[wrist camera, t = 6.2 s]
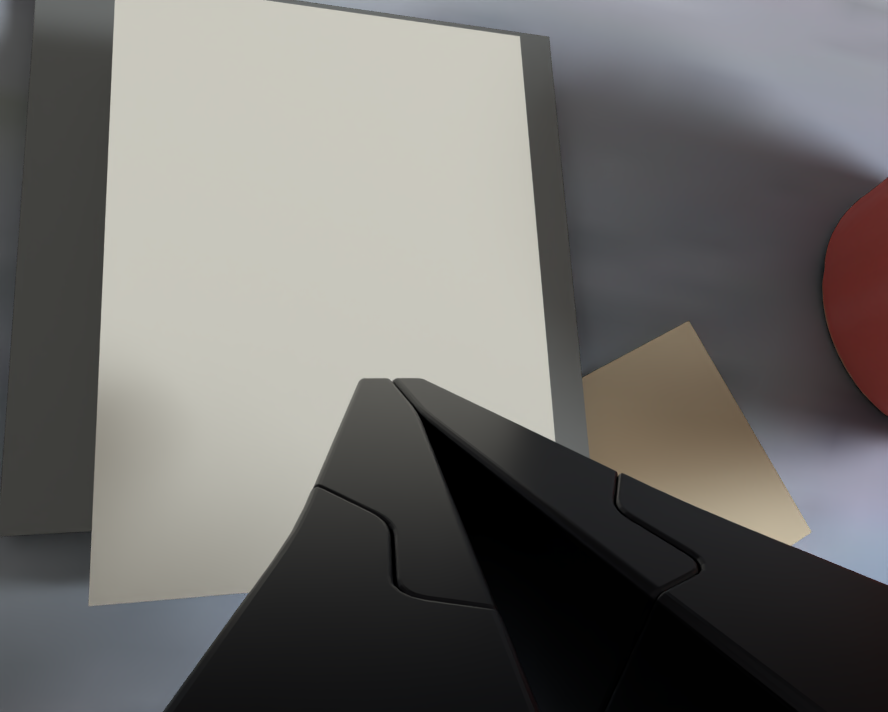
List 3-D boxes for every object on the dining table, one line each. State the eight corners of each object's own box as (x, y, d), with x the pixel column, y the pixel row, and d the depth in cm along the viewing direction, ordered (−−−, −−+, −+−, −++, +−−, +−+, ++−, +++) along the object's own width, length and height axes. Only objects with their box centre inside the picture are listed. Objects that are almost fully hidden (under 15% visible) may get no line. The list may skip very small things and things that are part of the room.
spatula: (1054, 973, 17) (1098, 1000, 16) (923, 1103, 16) (963, 1140, 15) (679, 325, 19) (698, 315, 18) (540, 399, 18) (553, 392, 17)
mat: (581, 502, 17) (594, 502, 16) (6, 536, 14) (-2, 536, 13) (539, 50, 20) (549, 36, 19) (44, -18, 16) (37, -38, 16)
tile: (566, 565, 13) (519, 36, 16) (88, 605, 11) (115, -22, 13) (514, 558, 16) (481, 100, 18) (113, 591, 13) (132, 61, 16)
